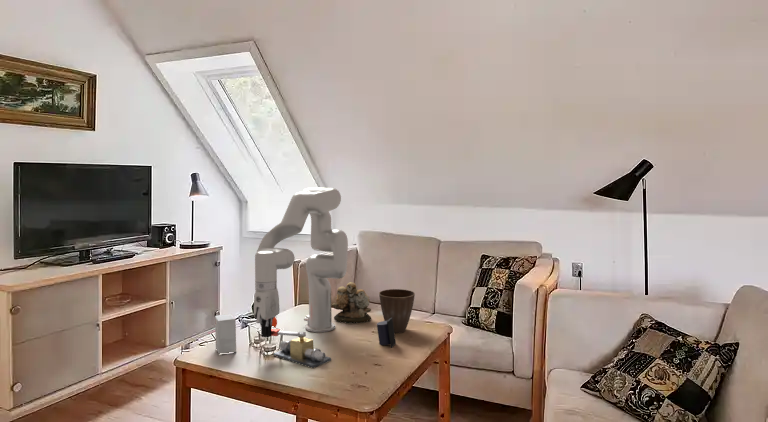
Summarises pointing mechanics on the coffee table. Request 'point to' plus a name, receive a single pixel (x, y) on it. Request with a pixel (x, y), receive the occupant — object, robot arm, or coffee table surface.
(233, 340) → the small box
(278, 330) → the valve lever
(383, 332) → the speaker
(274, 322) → the clementine
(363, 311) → the owl figurine
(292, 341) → the valve body
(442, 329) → the coffee table surface
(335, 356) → the coffee table surface
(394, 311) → the plant pot
